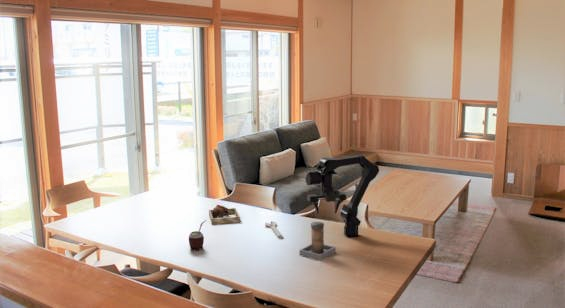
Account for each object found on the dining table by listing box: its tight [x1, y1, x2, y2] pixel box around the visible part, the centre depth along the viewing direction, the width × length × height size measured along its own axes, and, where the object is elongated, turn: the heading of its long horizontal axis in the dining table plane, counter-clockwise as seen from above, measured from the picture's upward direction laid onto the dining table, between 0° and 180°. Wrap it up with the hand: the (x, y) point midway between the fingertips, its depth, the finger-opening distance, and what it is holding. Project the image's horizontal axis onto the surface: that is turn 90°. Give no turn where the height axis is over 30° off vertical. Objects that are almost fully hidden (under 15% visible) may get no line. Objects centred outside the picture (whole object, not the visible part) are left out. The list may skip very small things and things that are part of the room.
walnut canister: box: [310, 221, 325, 254], centre depth 246 cm, size 6×6×14 cm
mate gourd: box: [188, 219, 207, 252], centre depth 253 cm, size 8×8×15 cm
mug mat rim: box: [208, 207, 241, 225], centre depth 301 cm, size 16×18×3 cm
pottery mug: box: [212, 204, 229, 218], centre depth 302 cm, size 12×10×8 cm
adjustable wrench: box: [264, 220, 284, 240], centre depth 279 cm, size 25×6×2 cm, turn 10°
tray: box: [299, 243, 336, 261], centre depth 247 cm, size 13×12×2 cm
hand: (326, 213), depth 264 cm, fingers open, 9 cm apart
